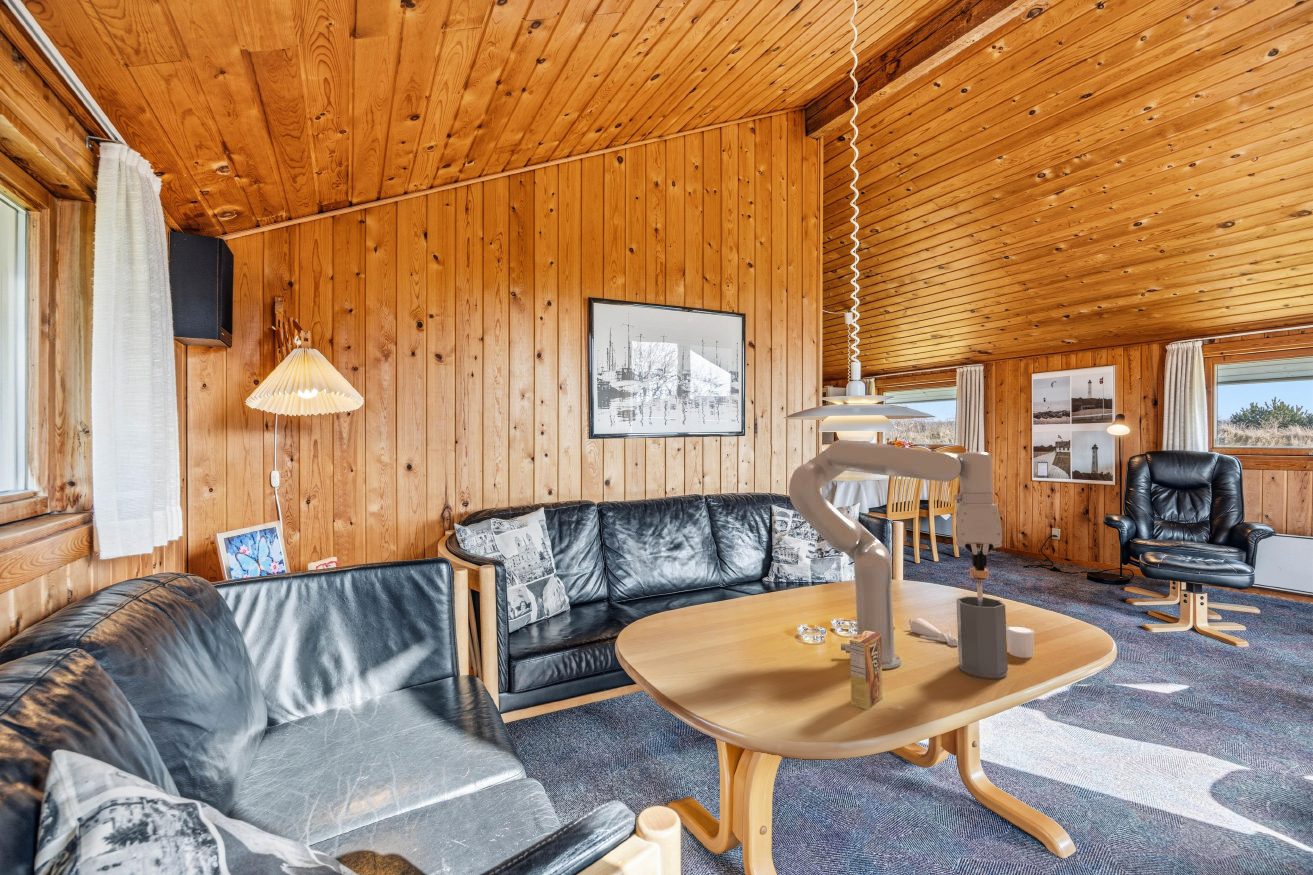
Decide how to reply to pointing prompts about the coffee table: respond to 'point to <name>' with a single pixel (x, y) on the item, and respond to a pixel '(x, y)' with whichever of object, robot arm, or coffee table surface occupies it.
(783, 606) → the coffee table surface
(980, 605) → the plunger
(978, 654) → the press pot
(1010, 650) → the white cylinder
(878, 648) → the candy box
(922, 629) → the woman figurine
